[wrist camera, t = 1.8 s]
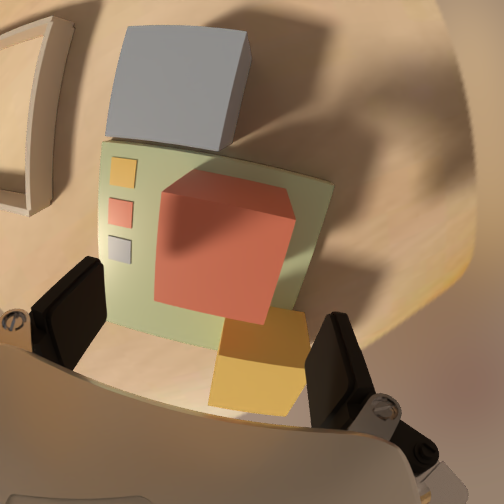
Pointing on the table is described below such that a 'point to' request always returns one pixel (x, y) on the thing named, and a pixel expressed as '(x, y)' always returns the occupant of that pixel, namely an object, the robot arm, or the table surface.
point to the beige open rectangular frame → (40, 111)
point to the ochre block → (261, 363)
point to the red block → (221, 245)
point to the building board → (146, 227)
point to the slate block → (179, 85)
